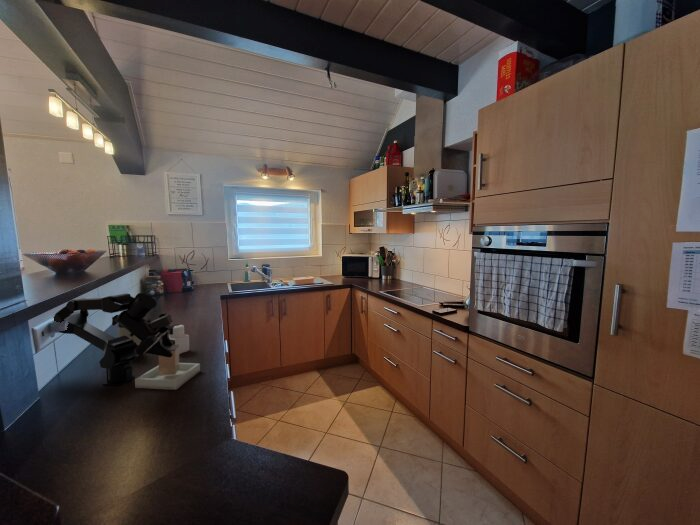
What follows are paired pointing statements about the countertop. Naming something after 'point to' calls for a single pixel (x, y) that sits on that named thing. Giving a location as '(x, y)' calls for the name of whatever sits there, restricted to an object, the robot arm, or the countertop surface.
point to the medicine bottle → (179, 337)
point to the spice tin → (169, 361)
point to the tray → (167, 377)
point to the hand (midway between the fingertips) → (173, 353)
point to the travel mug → (127, 334)
